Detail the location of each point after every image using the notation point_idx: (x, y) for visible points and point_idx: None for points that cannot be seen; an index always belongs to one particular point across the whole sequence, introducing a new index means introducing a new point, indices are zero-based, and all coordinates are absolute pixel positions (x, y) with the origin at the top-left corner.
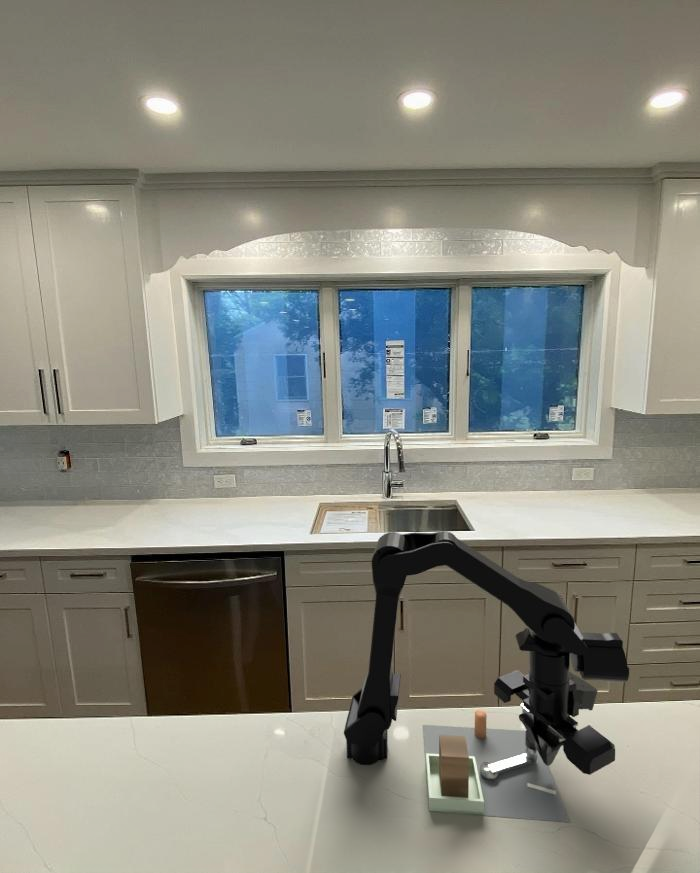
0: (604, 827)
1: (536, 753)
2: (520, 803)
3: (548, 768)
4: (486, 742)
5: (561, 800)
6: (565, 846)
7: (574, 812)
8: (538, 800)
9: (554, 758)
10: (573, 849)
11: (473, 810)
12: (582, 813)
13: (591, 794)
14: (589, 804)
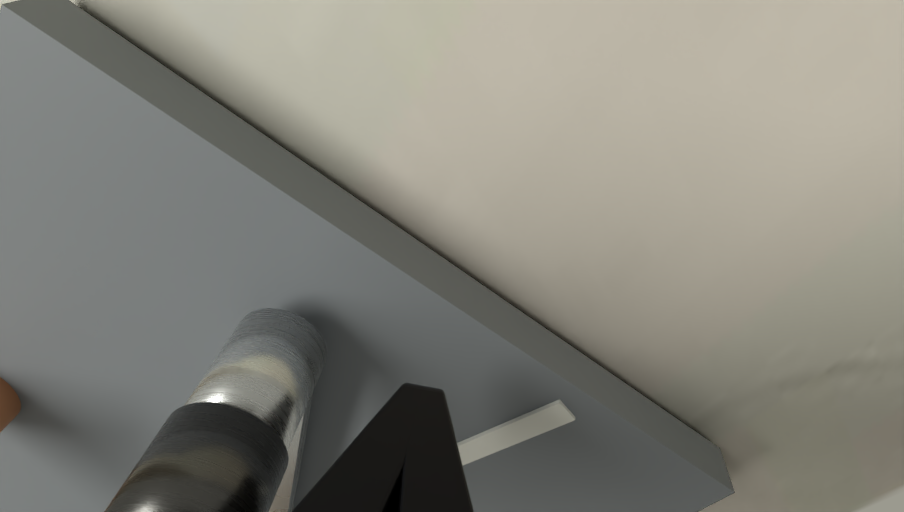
0: (897, 294)
1: (301, 408)
2: None
3: (407, 287)
4: (53, 409)
5: (624, 422)
6: (730, 505)
7: (690, 340)
8: (526, 496)
9: (455, 440)
10: (769, 495)
11: None
12: (734, 312)
13: (733, 123)
14: (751, 218)
